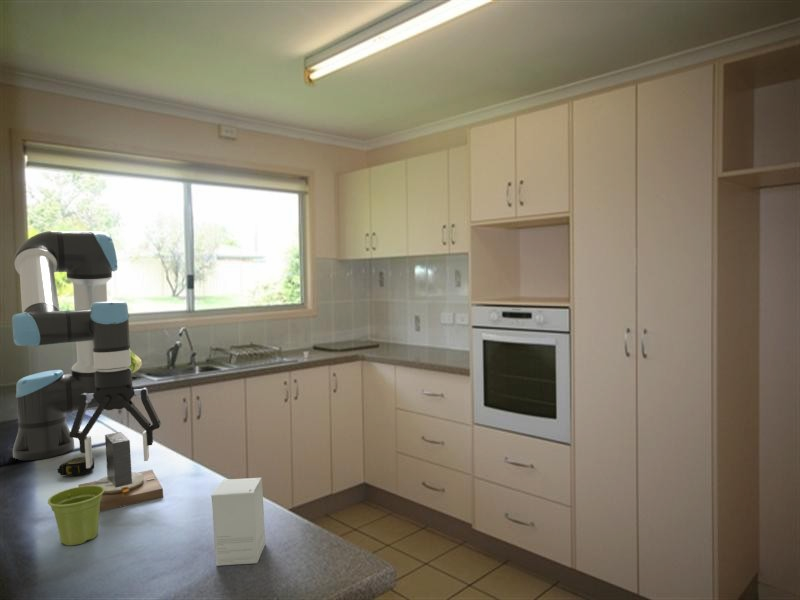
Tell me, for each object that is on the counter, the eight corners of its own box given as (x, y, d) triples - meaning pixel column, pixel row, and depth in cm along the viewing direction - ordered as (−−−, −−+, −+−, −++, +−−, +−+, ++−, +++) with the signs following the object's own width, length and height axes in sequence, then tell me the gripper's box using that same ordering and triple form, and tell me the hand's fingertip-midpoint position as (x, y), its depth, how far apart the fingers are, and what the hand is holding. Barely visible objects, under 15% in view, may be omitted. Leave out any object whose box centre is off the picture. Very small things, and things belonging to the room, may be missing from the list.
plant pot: (42, 554, 100) (39, 507, 99) (60, 531, 109) (57, 488, 108) (99, 546, 102) (96, 500, 102) (111, 524, 111) (109, 482, 111)
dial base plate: (78, 492, 128) (78, 483, 128) (152, 477, 137) (152, 468, 137) (82, 515, 116) (81, 505, 115) (163, 497, 124) (162, 487, 124)
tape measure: (78, 468, 145) (77, 454, 145) (100, 469, 144) (99, 455, 144) (57, 478, 139) (56, 463, 139) (81, 479, 138) (80, 464, 137)
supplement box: (266, 543, 101) (263, 476, 101) (257, 564, 94) (254, 492, 93) (226, 545, 101) (223, 478, 100) (214, 566, 94) (210, 494, 93)
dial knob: (137, 473, 133) (135, 428, 133) (150, 487, 124) (147, 439, 124) (91, 484, 127) (88, 437, 126) (100, 499, 118) (97, 448, 117)
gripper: (170, 362, 132) (174, 451, 133) (58, 370, 125) (64, 464, 126) (167, 367, 125) (172, 460, 126) (48, 376, 118) (55, 475, 119)
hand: (118, 462), depth 126 cm, fingers open, 11 cm apart
